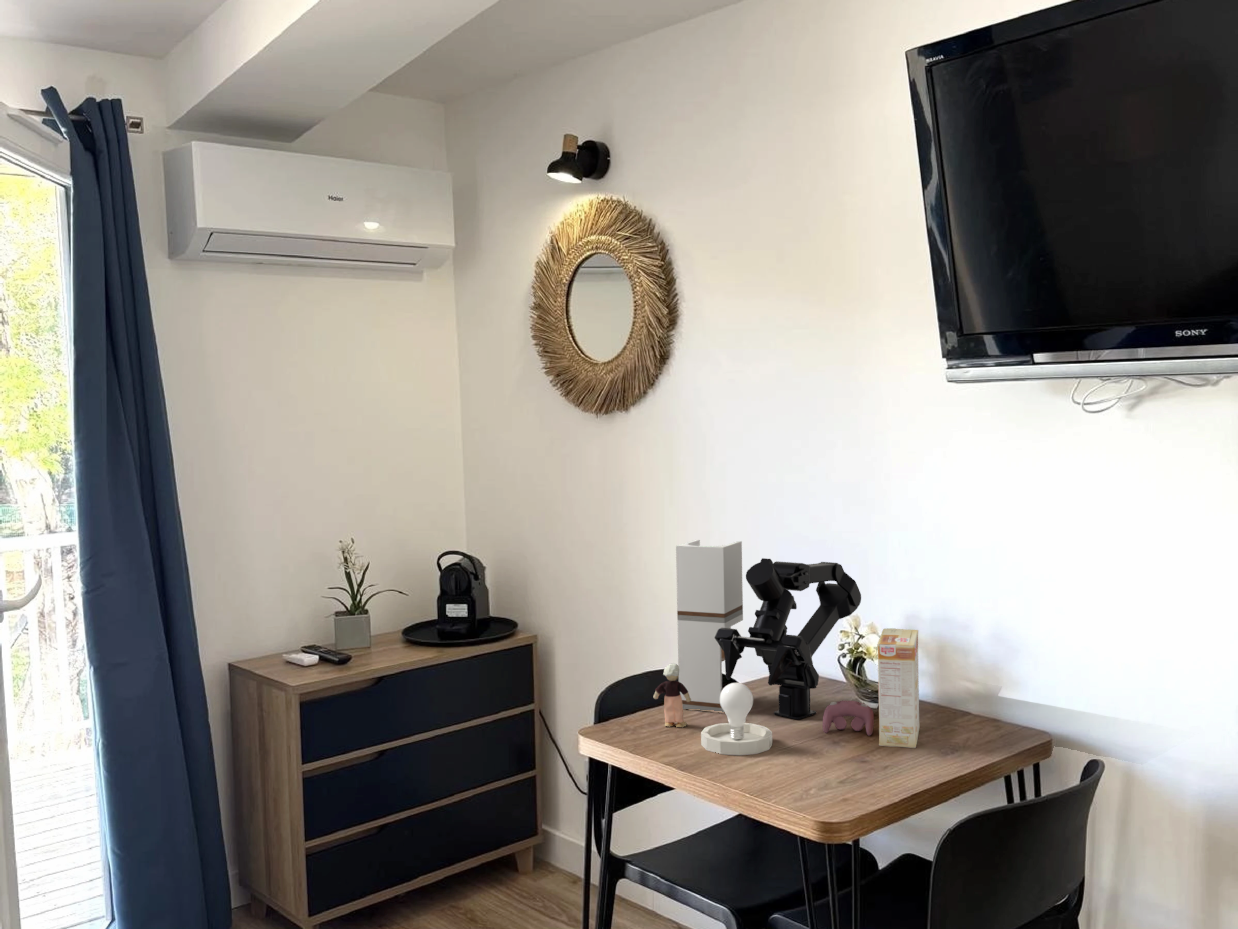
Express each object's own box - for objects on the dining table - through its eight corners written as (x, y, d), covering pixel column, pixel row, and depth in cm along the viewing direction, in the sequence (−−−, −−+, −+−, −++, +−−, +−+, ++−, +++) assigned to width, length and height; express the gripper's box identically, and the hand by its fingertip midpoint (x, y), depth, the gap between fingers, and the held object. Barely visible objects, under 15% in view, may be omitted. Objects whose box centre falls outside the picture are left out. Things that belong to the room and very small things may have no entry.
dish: (733, 730, 223) (733, 718, 223) (785, 744, 213) (785, 731, 213) (688, 745, 214) (688, 732, 214) (740, 759, 205) (739, 746, 204)
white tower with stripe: (726, 714, 235) (723, 547, 234) (679, 709, 240) (676, 545, 238) (744, 700, 246) (741, 541, 244) (698, 696, 250) (696, 539, 249)
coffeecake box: (883, 724, 225) (882, 627, 224) (920, 726, 223) (919, 629, 222) (877, 746, 211) (876, 643, 210) (916, 748, 209) (915, 644, 208)
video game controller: (874, 739, 220) (875, 704, 223) (872, 735, 216) (873, 699, 219) (823, 736, 223) (825, 701, 226) (820, 732, 219) (822, 696, 222)
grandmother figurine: (692, 723, 229) (690, 661, 229) (691, 728, 225) (690, 665, 225) (654, 722, 230) (653, 661, 229) (653, 728, 226) (651, 665, 226)
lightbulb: (724, 734, 218) (723, 678, 217) (757, 736, 216) (756, 680, 215) (716, 744, 212) (715, 686, 211) (749, 746, 210) (748, 688, 209)
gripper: (829, 642, 225) (806, 710, 217) (746, 633, 236) (721, 697, 228) (811, 610, 218) (786, 678, 210) (727, 602, 229) (700, 667, 221)
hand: (748, 681), depth 217 cm, fingers open, 9 cm apart
